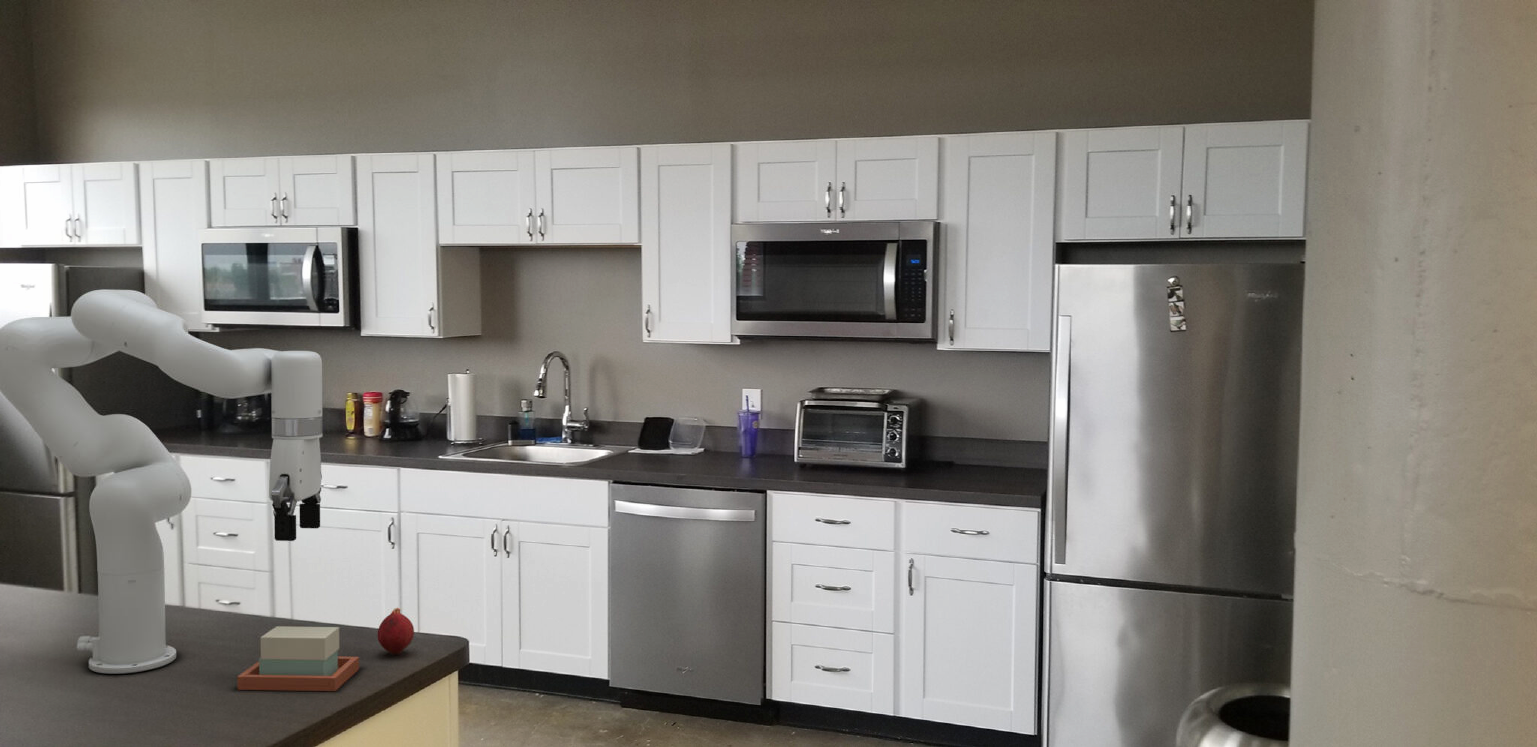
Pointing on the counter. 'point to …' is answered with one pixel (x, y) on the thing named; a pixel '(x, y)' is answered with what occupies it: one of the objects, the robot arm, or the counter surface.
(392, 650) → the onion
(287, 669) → the pad base
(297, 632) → the pad top
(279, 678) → the holder
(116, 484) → the robot arm
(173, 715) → the counter surface
